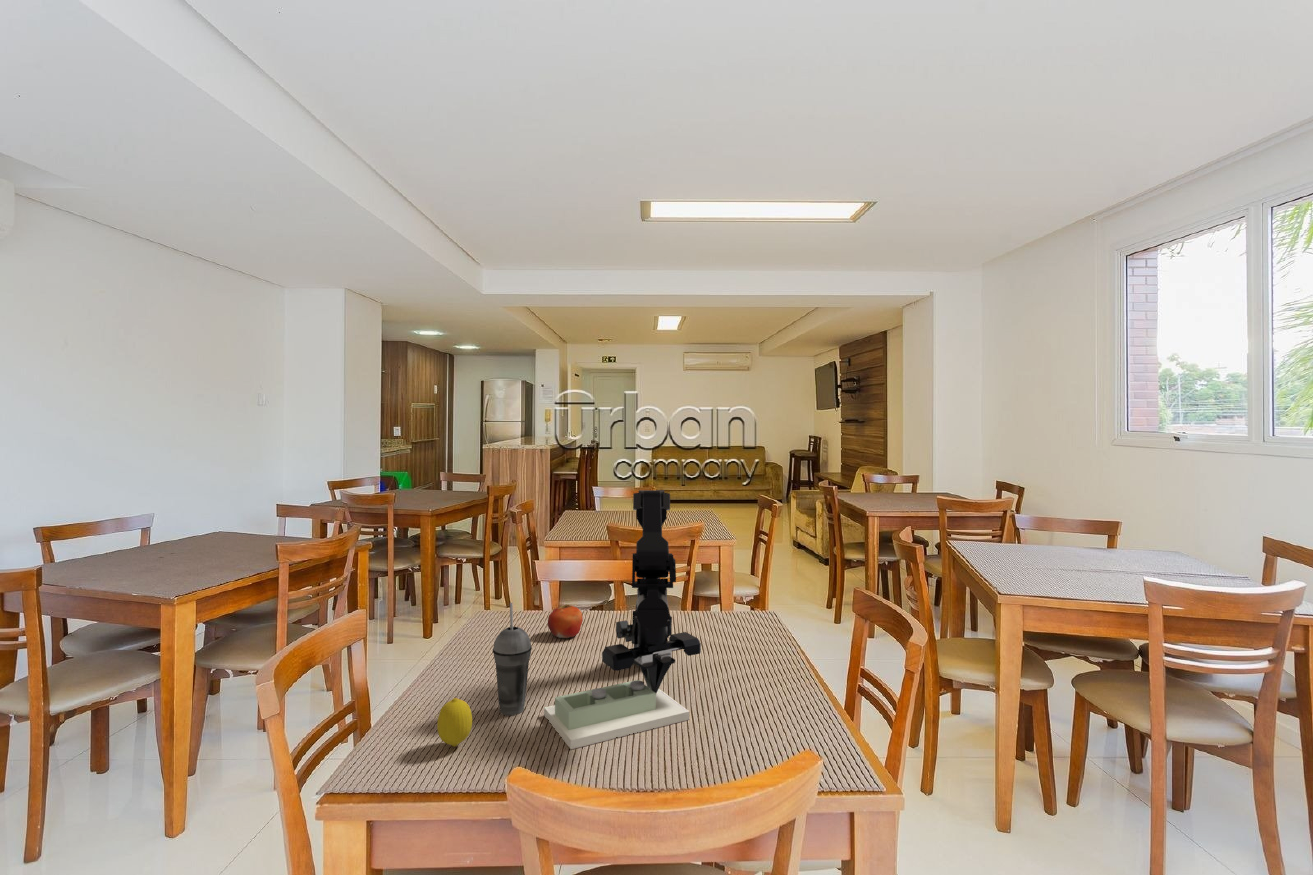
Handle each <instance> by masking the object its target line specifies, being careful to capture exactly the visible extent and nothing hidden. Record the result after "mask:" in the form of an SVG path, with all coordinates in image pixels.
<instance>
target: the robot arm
mask: <svg viewBox="0 0 1313 875" xmlns="http://www.w3.org/2000/svg"><path fill="white" fill-rule="evenodd" d="M632 495H633V496H632V498H633V499H632V510H633V511H636V512H635V514H636V515H635V517H636V518H635V519H636V520H637V522H638V524H639V525H640V527H641V529H642V535H641V537H640V538H639V539H638V540H637V541H636V544H635V545H636V546H635V547H636V552H635V553H632V558H631V559H632V564H631V565H632V571H631V588H632V589H637V590H636V599H637V600H636V601H635V610H632V624H629V622H628V620H626V619H625V620H621V621H616V622H615V634H616V638H617V639H624V640H625V643H628V642H631V644H632V645H633V648H632V647H631V648H629V647H627V646H626V645H624V644H623V643H620V644H613V645H609V646H605V647H604V649H603V650H602V653H601V662H602V663H604V665H606V666H607V667H609V668H610V669H611V670H613V671H615V672H616V671H617V672H619V671H623V670H624V671H625V670H628V669H631V668H632V667H633V666H634V665H635V666H637V667H638V668H639V669H640V671H641V673H642V675H643V678H644V680H645V685H646V686H647V687H648V688H650V689H651V690H652V691H654V692H655V693H657V691H658V689H660V686H661V684H662V683H663V680H664V679H665V676H666V674H667V673H668V671H669V669H670V667H672V666H671V665H673V664H675V663H676V659H675V658H673V657H672V653H673V652H675V651H681V650H683V652H684V654H686V655H687V656H688V657H690V656H695V655H699V654H701V653H702V648H701V647H702V643H701V641H700V639H699V638H697V637H696V636H694V635H692V634H690V633H689V632H687V631H684V632H678V633H673V634H672V625H673V624H672V623H673V616H671V613H670V609H669V608H670V607H669V602H668V589H674V583H677V568H676V566H677V565H676V558H674V554H673V553H671V552H670V549H669V542H668V540H667V539H666V538H664V537H663V525H664V523H665V522H666V520H667V518H668V517H667V516H668V514H667V512H668V511H670V510H671V493H669V492H665V490H664V489H661V490H655V489H651V490H650V489H646V490H645V489H642V490H641V489H639V490H638V492H634V493H633V494H632ZM636 577H637V579H636ZM668 577H669V579H668Z"/></svg>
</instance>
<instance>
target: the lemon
mask: <svg viewBox="0 0 1313 875" xmlns="http://www.w3.org/2000/svg"><path fill="white" fill-rule="evenodd" d="M472 714H473V713H472V710H471V707H470V705H469V704H468V702H466V701H464V699H463V700H462V699H459V698H457V697H454V698H452V699H451V700H449V701H447V702H446V703H445V704H444V705H443V706H442V707H441V708H440V711H439V713H438V716H437V717H438V718H437V726H436V728H437V734H438V737H439V738H440V740H441V741H442V742H444V743H445V744H447V745H450V746H452V747H453V748H456V747H458V745H459V744H460V743H462V742H464V741H466V739H467V738H468V737H469V735H470V733H471V732H472V731H471V730H472V726H473V715H472Z"/></svg>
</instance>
